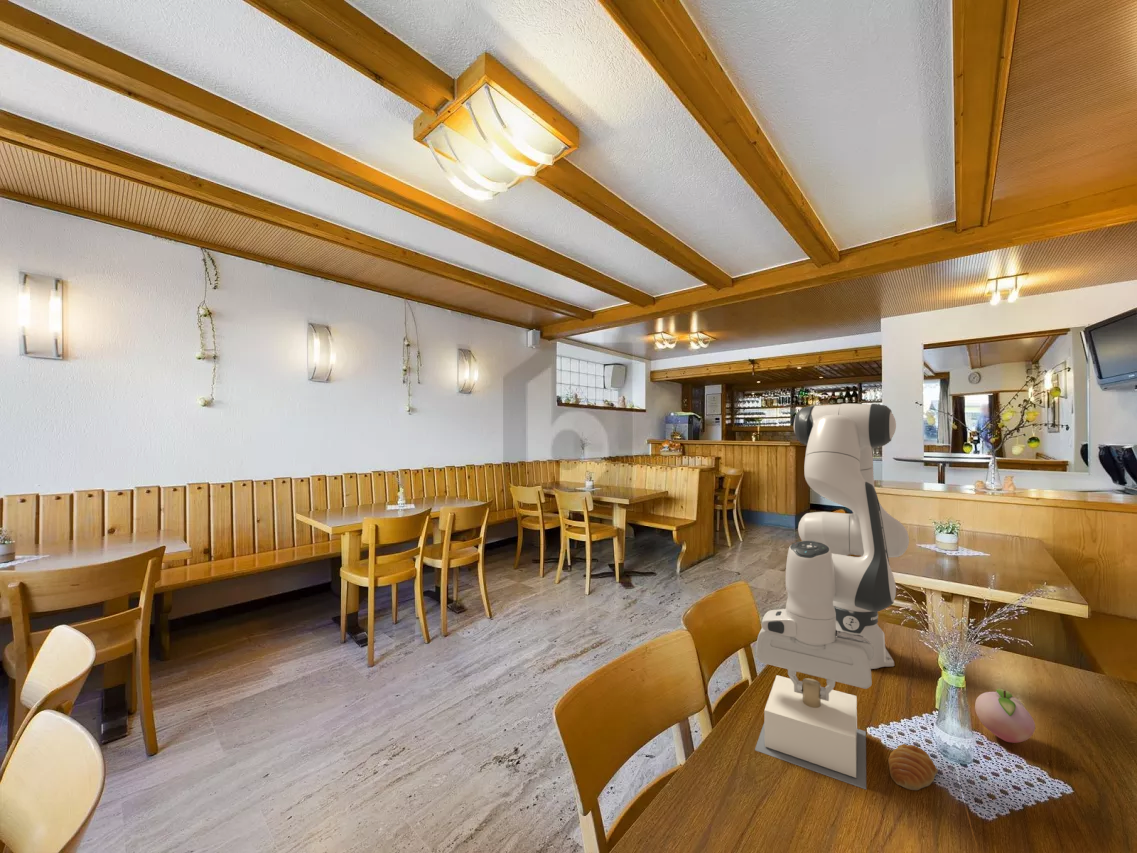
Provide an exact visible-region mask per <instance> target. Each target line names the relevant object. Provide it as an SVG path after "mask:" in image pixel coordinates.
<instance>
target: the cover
mask: <svg viewBox="0 0 1137 853" xmlns="http://www.w3.org/2000/svg"><path fill="white" fill-rule="evenodd" d="M801 681H802V694H801V693H797V692H794V684H793V682H792V680H791V679H790V677H785V676H781V675H777V674H776V676H775V679H774V681H773V683H772V687H771V690H770V692H769V696H768V698H767V701H766V704H765V708H764V712H763V713H764V714H763V715H764V719H763V720H764V722H763V724H764V725H765V747H768V748H771V749H774V750H777V751H780V752H782V753H785V754H788V755H791V756H794V757H797V758H800V759H803V760H806V761H809V762H811V763H814V764H817V765H820V766H823V767H826V768H829V769H832V770H835V771H837V772H840V773H843V774H846V775H849V776H852V777H855V778H856V762H857V729H858V710H857V708H858V706H857V705H858V701H857V700H858V699H857V695H854V694H850V693H847V692H843V691H839V690H834V689H832V690H831V692H830V693H829V701H826V700H822V699H820V689H821V687H822V686H821V682H819V681H818V680H816V679H813V678H807V677H806V678H803V679H802V680H801Z"/></svg>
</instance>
